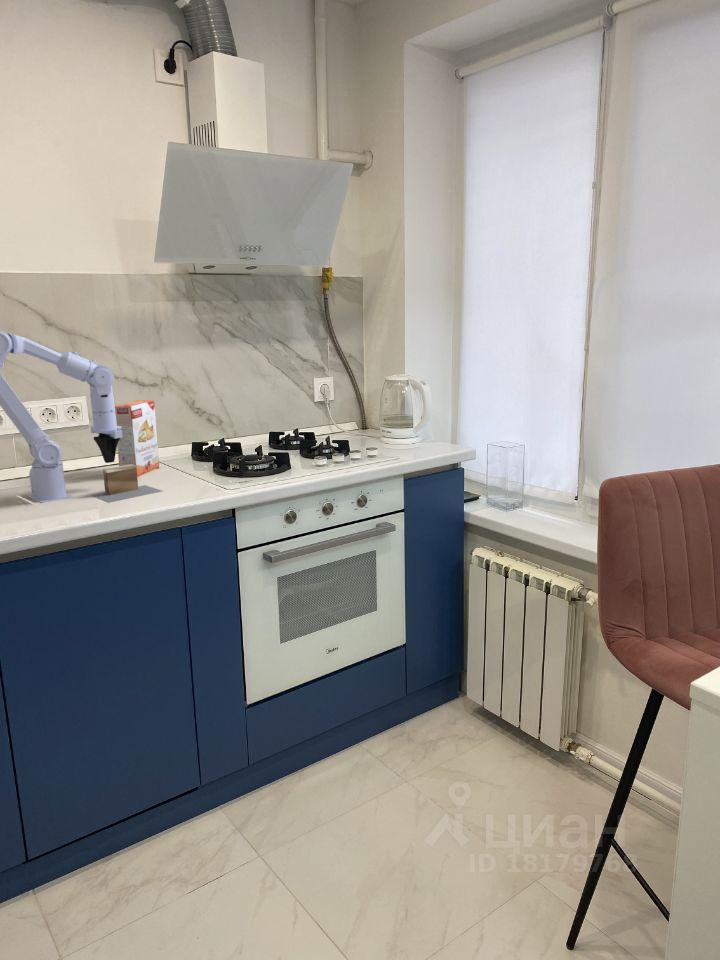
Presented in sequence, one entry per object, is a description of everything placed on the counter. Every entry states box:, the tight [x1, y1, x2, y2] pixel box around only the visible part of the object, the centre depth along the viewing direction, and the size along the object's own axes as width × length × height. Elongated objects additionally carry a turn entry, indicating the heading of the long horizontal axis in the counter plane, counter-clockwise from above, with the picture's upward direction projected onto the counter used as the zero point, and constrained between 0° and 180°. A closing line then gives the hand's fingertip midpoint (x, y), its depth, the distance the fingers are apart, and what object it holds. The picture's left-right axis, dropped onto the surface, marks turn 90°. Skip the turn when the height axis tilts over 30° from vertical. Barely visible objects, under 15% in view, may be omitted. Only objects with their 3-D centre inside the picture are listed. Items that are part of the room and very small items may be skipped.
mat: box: [92, 484, 163, 504], centre depth 187 cm, size 10×15×1 cm, turn 134°
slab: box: [102, 464, 139, 495], centre depth 188 cm, size 2×8×6 cm, turn 134°
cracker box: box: [115, 399, 160, 478], centre depth 210 cm, size 14×6×21 cm, turn 168°
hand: (109, 462), depth 192 cm, fingers closed
